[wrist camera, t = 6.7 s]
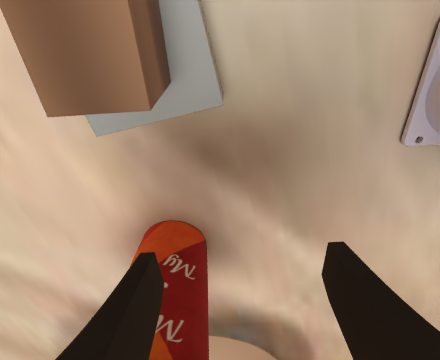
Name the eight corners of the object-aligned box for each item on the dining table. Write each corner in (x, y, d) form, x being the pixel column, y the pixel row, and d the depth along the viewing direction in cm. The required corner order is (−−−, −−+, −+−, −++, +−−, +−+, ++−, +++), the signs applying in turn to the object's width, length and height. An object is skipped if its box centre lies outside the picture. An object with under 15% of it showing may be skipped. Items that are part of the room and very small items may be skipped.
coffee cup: (188, 196, 21) (141, 459, 9) (233, 255, 25) (245, 496, 13) (111, 231, 24) (-16, 482, 11) (163, 281, 27) (115, 508, 15)
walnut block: (157, -9, 12) (122, -22, 8) (171, 82, 14) (150, 110, 10) (71, -2, 12) (-8, -12, 8) (98, 87, 14) (47, 117, 10)
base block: (185, -66, 13) (176, -85, 11) (222, 91, 17) (223, 105, 15) (46, -17, 14) (8, -24, 12) (113, 120, 18) (96, 136, 16)
